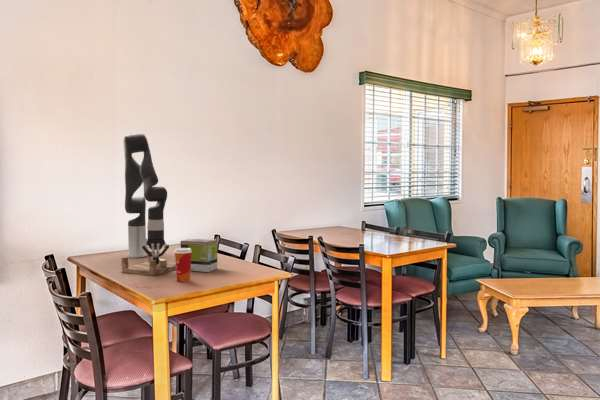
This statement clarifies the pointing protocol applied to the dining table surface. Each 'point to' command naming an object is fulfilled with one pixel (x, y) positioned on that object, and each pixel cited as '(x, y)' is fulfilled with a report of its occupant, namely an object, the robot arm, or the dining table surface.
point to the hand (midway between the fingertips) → (155, 264)
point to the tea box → (202, 253)
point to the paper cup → (183, 264)
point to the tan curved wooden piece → (161, 262)
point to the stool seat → (146, 267)
